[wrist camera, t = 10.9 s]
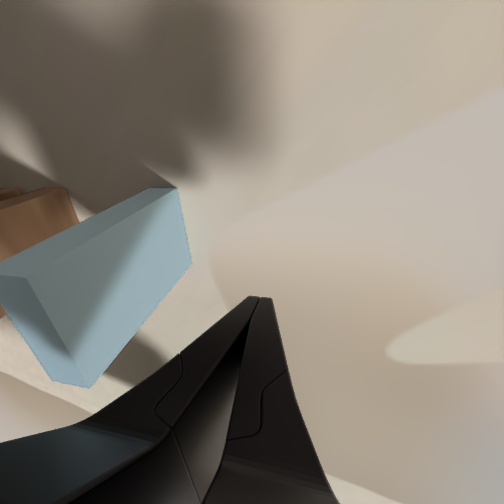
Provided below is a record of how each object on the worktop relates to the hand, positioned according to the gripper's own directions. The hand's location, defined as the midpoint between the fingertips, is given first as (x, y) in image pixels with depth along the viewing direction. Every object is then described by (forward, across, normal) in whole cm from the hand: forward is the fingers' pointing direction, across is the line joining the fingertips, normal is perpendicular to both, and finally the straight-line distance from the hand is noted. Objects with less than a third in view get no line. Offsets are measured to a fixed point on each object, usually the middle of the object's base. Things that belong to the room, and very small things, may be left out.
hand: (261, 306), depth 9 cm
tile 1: (+6, +7, 0) cm, 9 cm away
